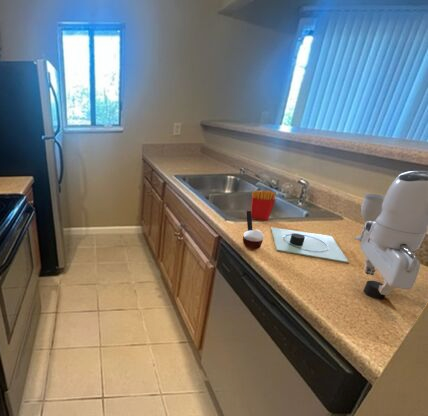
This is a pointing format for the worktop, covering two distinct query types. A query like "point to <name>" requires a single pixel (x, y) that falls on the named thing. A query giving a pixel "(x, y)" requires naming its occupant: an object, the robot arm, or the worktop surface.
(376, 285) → the dot
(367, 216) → the chalice
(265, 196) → the french fries
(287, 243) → the pale blue square plate
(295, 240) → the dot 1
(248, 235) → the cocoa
